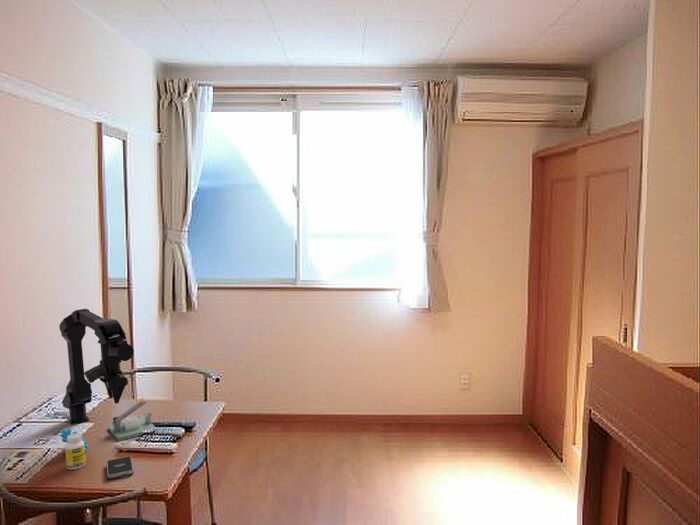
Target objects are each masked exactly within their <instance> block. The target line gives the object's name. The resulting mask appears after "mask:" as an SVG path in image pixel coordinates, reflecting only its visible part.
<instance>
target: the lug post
mask: <svg viewBox="0 0 700 525" xmlns="http://www.w3.org/2000/svg"><path fill="white" fill-rule="evenodd" d="M144 417H145V422H146V423H147V424H151V423H152V418H151V417H152V413H151V412H147V413H144Z"/></svg>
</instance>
